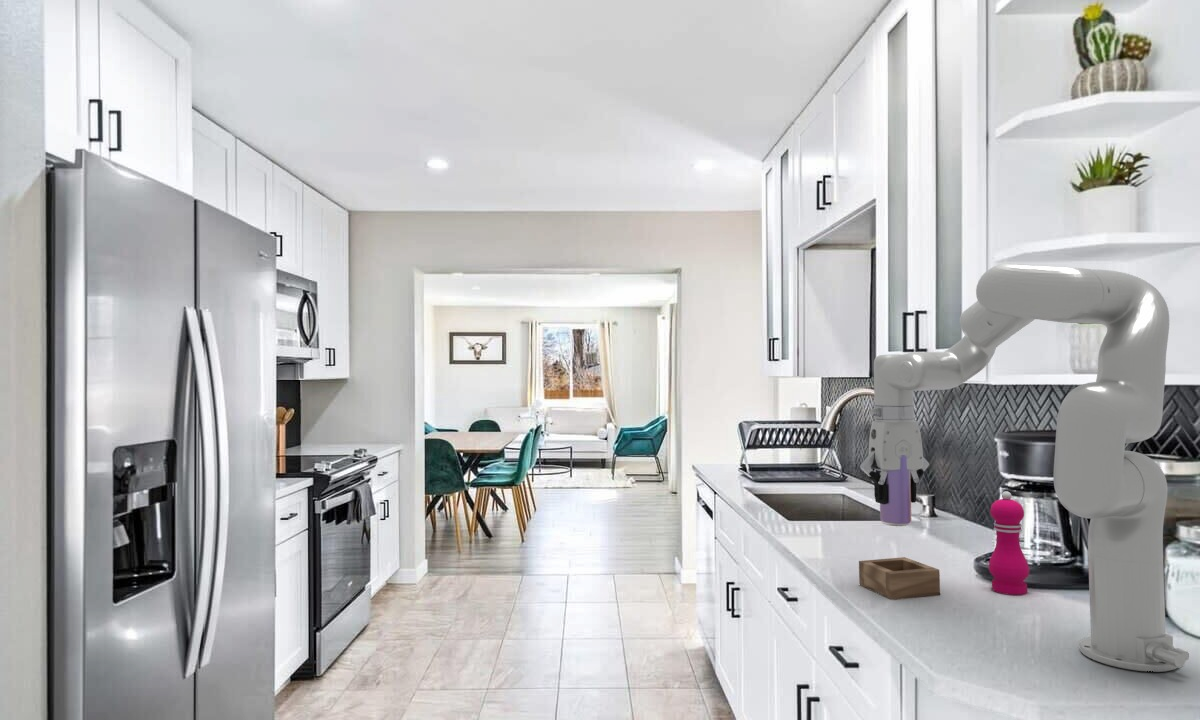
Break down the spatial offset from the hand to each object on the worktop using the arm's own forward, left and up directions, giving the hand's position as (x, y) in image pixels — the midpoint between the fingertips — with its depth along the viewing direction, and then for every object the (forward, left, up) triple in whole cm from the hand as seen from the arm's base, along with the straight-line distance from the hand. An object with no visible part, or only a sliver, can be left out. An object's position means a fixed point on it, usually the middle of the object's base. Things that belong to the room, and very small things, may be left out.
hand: (895, 501), depth 155 cm
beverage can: (0, 0, -5) cm, 5 cm away
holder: (0, 0, -18) cm, 18 cm away
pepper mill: (-7, -21, -18) cm, 28 cm away
